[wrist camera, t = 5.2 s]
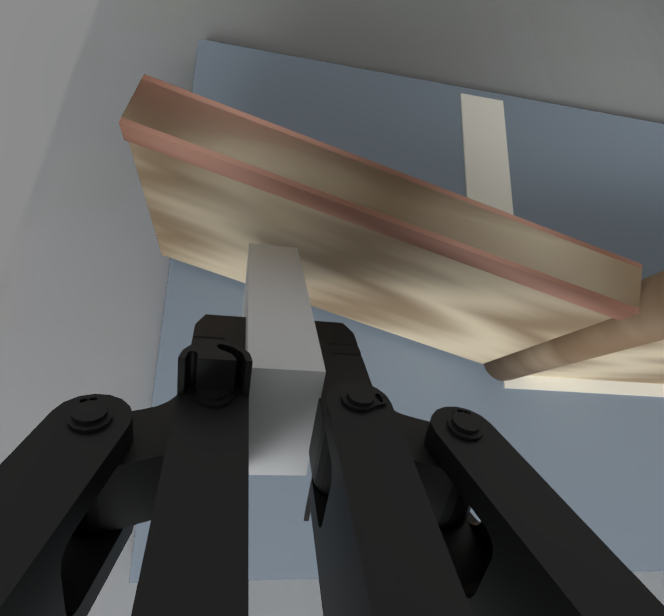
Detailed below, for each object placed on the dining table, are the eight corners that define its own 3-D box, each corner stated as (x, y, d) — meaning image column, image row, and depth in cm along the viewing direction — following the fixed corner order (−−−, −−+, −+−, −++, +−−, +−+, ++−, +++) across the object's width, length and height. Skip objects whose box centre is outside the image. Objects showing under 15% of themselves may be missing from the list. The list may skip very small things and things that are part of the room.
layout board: (692, 142, 30) (709, 131, 29) (785, 562, 23) (811, 567, 22) (199, 54, 24) (198, 37, 23) (133, 575, 18) (128, 583, 17)
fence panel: (487, 335, 22) (642, 264, 14) (481, 367, 21) (639, 313, 13) (174, 225, 20) (144, 74, 12) (160, 258, 20) (118, 122, 12)
